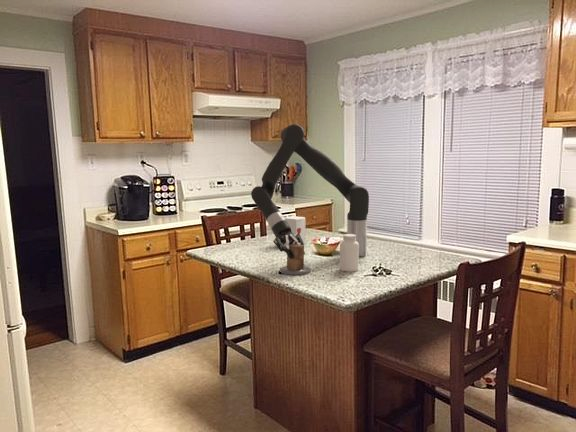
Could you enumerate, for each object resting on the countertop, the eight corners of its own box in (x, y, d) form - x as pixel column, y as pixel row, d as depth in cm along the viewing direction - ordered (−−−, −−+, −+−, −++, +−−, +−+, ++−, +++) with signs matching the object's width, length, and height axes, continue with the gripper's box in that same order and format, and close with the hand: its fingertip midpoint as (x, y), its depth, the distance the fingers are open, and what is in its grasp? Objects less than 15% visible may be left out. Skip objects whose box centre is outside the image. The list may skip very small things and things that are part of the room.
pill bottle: (353, 273, 198) (354, 237, 196) (336, 270, 202) (336, 235, 200) (361, 268, 205) (362, 234, 203) (344, 266, 209) (344, 232, 207)
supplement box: (295, 247, 248) (295, 219, 246) (282, 245, 253) (282, 217, 251) (306, 244, 255) (305, 217, 253) (292, 242, 260) (292, 215, 258)
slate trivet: (312, 268, 206) (312, 265, 206) (307, 276, 194) (307, 273, 194) (283, 266, 209) (283, 264, 209) (276, 274, 197) (276, 272, 196)
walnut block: (295, 266, 205) (295, 243, 204) (303, 268, 201) (304, 245, 200) (286, 268, 202) (287, 245, 200) (295, 270, 198) (295, 247, 197)
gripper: (269, 221, 199) (289, 254, 192) (295, 217, 209) (314, 248, 202) (262, 232, 204) (281, 264, 197) (286, 228, 213) (305, 258, 206)
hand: (297, 256), depth 199 cm, fingers open, 5 cm apart
